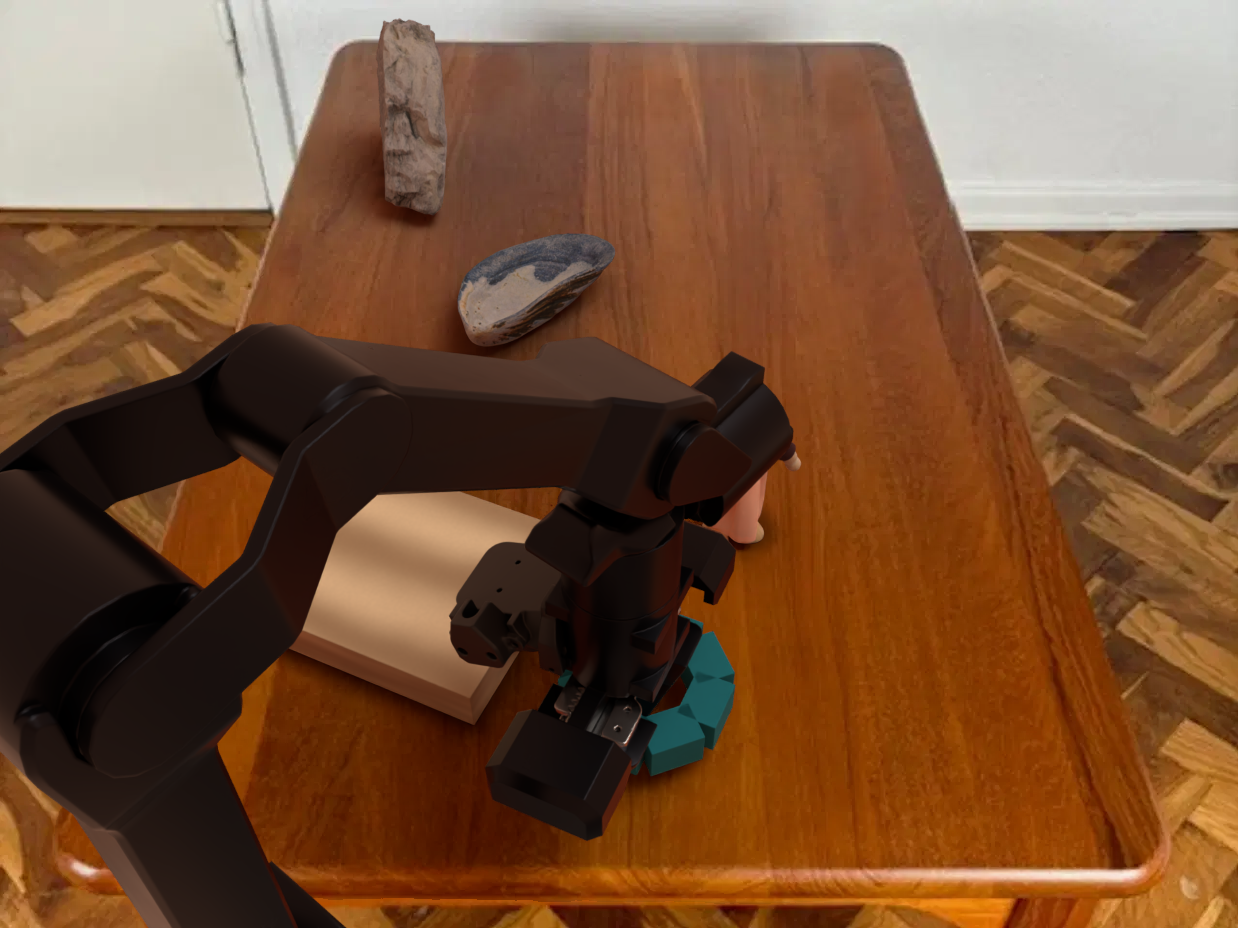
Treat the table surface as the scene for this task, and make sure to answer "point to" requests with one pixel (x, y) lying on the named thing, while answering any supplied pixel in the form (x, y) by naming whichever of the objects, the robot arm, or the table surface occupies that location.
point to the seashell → (528, 285)
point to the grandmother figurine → (751, 507)
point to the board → (408, 596)
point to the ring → (690, 709)
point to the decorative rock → (412, 115)
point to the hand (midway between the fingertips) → (619, 743)
